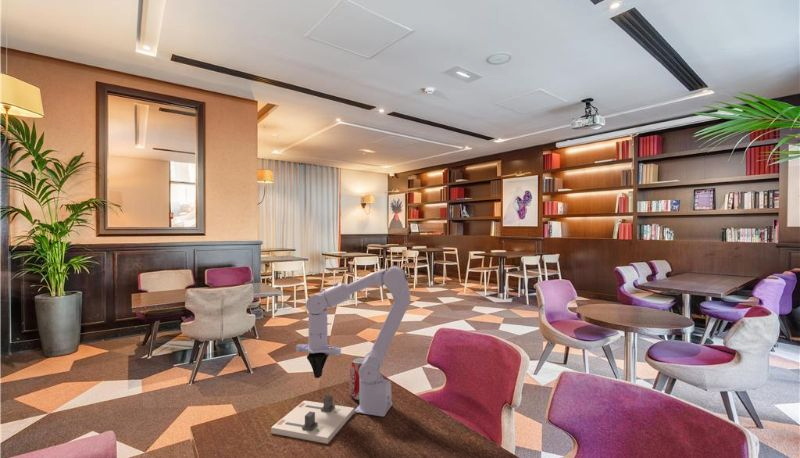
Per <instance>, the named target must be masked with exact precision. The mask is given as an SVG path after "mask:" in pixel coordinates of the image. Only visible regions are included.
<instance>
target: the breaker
mask: <svg viewBox="0 0 800 458" xmlns="http://www.w3.org/2000/svg"><path fill="white" fill-rule="evenodd" d="M323 403H324V406H323V407H322V408H321V411H326V412H331V411H332V410H333V409H334V408H335V404H333V395H328V394H327V395H325V397H324V398H323Z"/></svg>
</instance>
